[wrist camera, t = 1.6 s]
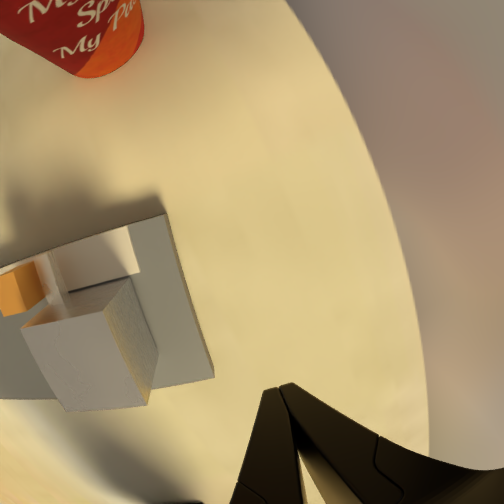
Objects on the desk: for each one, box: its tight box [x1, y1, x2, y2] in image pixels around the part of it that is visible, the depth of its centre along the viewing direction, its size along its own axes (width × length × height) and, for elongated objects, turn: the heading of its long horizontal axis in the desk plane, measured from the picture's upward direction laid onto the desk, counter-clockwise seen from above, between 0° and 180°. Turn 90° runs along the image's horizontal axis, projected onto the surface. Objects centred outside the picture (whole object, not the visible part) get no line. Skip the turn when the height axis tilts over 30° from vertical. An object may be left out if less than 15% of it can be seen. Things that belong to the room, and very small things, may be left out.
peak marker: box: [0, 261, 46, 317], centre depth 12 cm, size 2×2×3 cm
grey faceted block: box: [20, 250, 159, 412], centre depth 12 cm, size 7×5×4 cm, turn 13°
